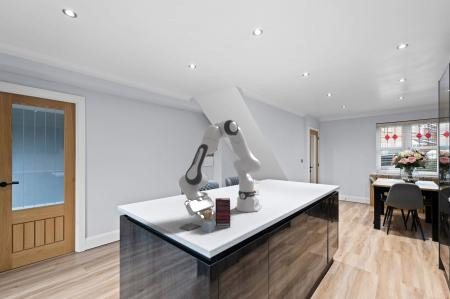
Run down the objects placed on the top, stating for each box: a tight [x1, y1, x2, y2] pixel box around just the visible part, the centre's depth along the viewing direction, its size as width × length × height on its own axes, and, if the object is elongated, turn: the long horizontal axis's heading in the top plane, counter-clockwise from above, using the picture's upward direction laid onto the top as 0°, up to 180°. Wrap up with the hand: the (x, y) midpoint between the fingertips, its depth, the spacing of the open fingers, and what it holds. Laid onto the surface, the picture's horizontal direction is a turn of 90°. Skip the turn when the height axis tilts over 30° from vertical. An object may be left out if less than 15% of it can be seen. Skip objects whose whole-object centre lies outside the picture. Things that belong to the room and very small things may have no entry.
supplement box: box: [214, 197, 231, 229], centre depth 118 cm, size 9×5×16 cm, turn 92°
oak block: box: [201, 210, 213, 223], centre depth 120 cm, size 4×4×8 cm
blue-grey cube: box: [201, 220, 216, 234], centre depth 111 cm, size 5×5×5 cm
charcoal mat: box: [179, 222, 202, 232], centre depth 116 cm, size 9×8×1 cm
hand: (207, 217), depth 119 cm, fingers open, 8 cm apart
